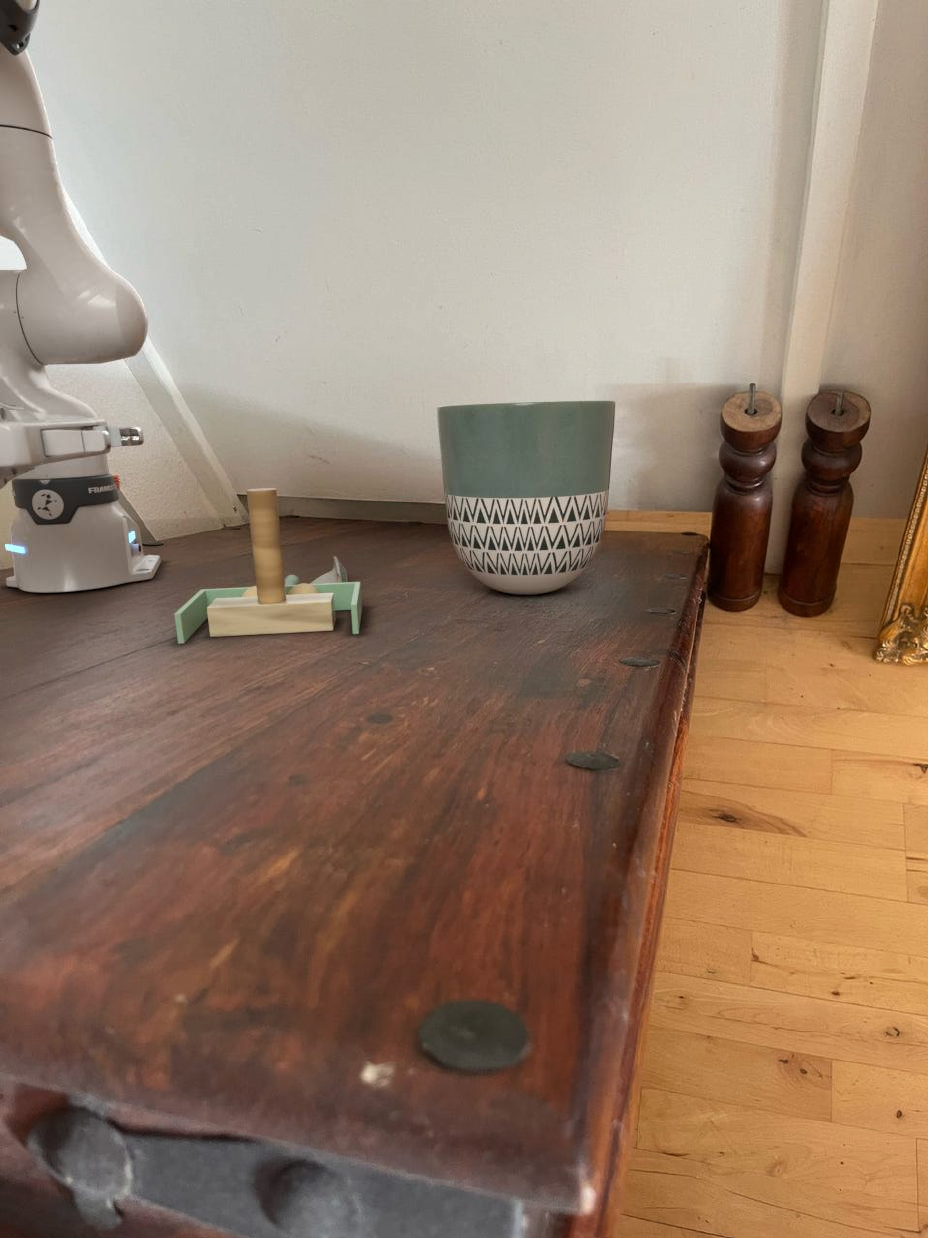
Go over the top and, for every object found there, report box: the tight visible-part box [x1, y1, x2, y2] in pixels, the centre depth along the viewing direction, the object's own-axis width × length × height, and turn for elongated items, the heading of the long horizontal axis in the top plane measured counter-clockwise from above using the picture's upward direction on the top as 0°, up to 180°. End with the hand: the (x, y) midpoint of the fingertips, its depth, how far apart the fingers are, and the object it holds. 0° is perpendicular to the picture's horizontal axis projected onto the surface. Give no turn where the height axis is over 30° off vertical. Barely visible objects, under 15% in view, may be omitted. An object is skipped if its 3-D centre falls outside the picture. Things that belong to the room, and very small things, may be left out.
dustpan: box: [173, 574, 363, 645], centre depth 81 cm, size 20×17×3 cm
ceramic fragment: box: [309, 555, 349, 584], centre depth 92 cm, size 14×5×4 cm, turn 12°
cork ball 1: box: [242, 585, 257, 597], centre depth 79 cm, size 4×4×4 cm
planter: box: [436, 400, 616, 596], centre depth 86 cm, size 20×20×21 cm
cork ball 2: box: [288, 582, 319, 595], centre depth 80 cm, size 4×4×4 cm
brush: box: [207, 487, 337, 638], centre depth 74 cm, size 4×12×14 cm, turn 96°
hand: (125, 438), depth 70 cm, fingers open, 8 cm apart
